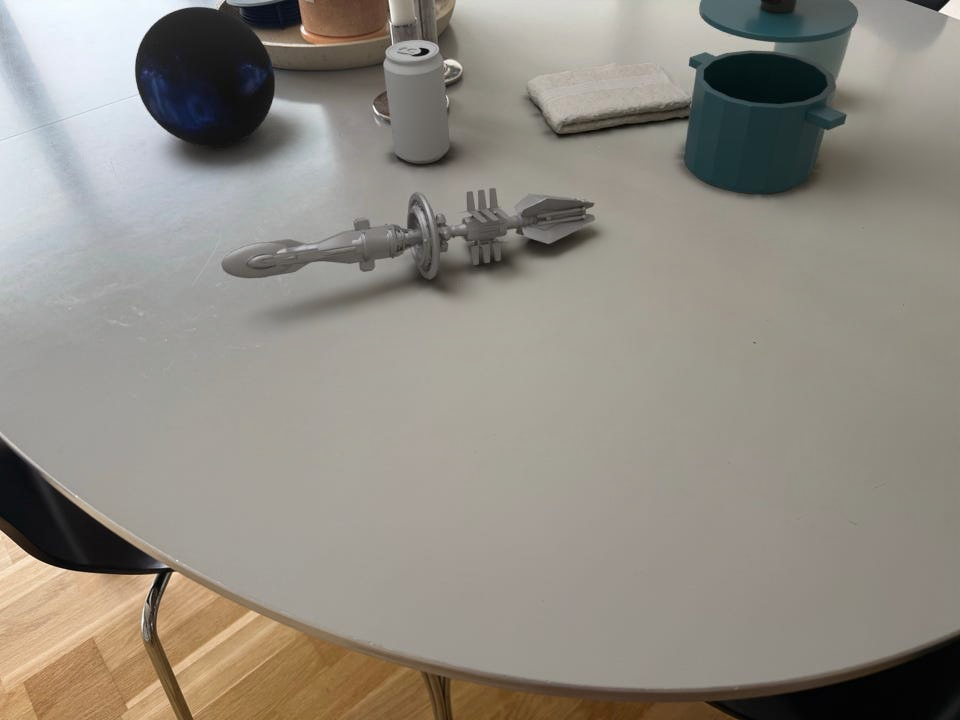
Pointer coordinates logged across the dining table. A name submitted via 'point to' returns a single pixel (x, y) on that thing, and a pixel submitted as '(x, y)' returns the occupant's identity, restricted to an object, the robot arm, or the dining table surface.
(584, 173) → the dining table surface
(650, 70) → the washcloth
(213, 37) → the decorative sphere
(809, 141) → the pot
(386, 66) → the beverage can
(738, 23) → the lid
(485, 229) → the spaceship
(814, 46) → the cup
